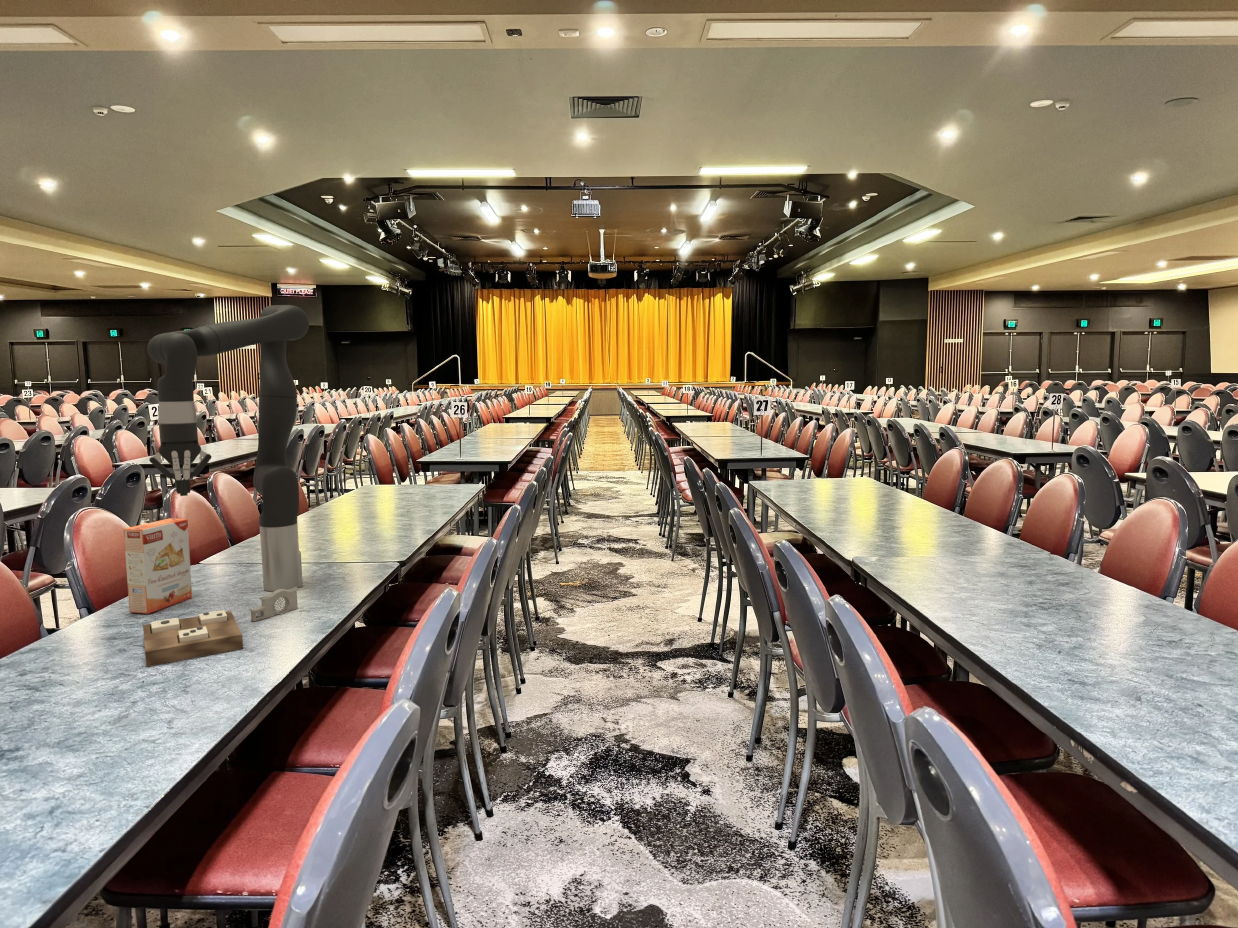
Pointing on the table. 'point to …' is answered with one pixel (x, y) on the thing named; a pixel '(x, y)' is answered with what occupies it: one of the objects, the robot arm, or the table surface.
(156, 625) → the key one dot
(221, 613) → the key two dots
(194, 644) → the key panel
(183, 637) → the key three dots
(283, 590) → the lattice window wall
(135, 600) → the cracker box
